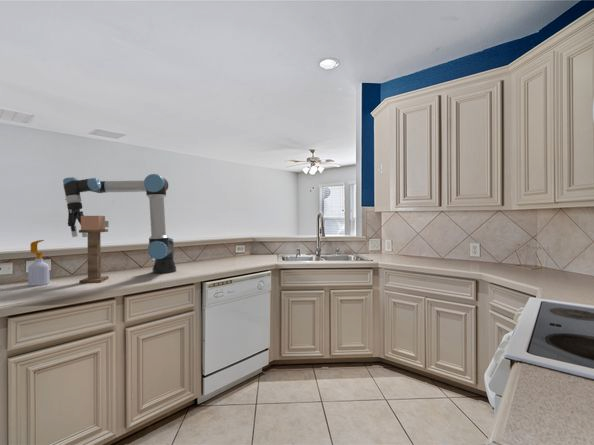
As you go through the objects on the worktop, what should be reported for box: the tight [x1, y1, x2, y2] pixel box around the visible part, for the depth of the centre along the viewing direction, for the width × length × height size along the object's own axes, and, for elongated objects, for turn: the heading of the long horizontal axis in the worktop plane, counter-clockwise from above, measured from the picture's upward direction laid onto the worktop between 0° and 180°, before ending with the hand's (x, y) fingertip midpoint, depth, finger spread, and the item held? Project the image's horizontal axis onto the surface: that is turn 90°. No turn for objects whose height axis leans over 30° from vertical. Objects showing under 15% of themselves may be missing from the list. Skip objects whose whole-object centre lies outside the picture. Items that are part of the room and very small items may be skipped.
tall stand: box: [78, 228, 109, 284], centre depth 186 cm, size 12×11×30 cm
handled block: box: [80, 215, 109, 230], centre depth 192 cm, size 24×9×8 cm, turn 13°
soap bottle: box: [27, 239, 50, 287], centre depth 176 cm, size 9×9×25 cm
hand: (80, 236), depth 196 cm, fingers open, 13 cm apart
